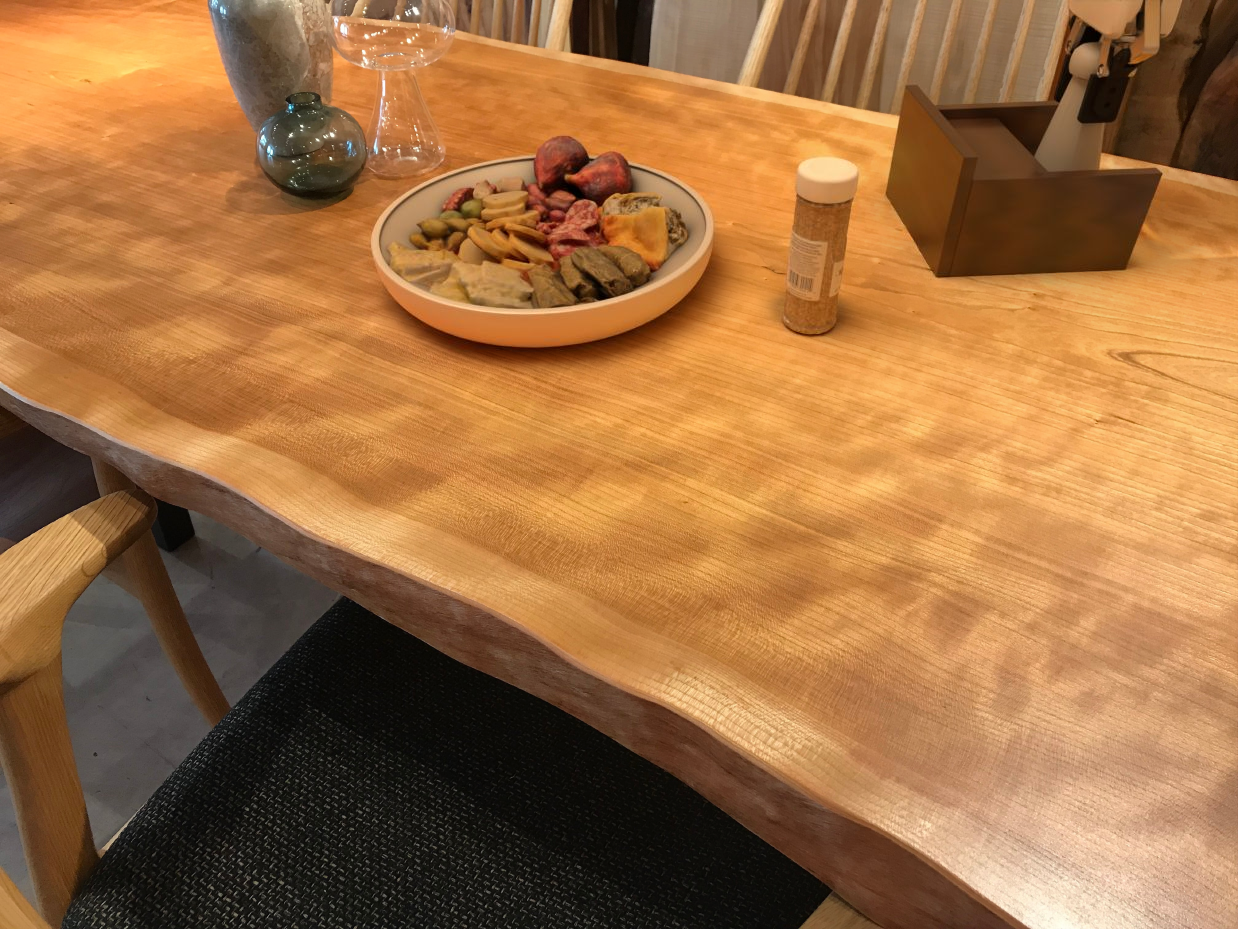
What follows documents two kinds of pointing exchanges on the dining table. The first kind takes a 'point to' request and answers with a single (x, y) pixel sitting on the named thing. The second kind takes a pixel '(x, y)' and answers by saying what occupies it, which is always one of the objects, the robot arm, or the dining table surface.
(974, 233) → the box
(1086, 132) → the salt shaker
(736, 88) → the dining table surface
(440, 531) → the dining table surface
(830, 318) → the sprinkles bottle
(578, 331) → the bowl
